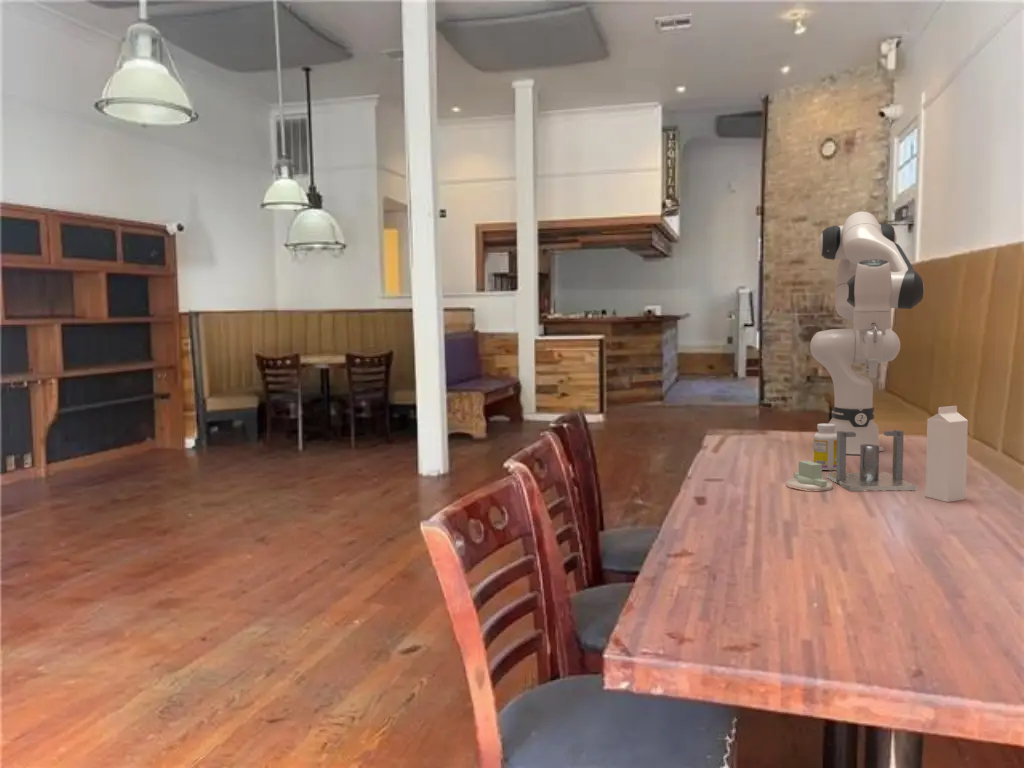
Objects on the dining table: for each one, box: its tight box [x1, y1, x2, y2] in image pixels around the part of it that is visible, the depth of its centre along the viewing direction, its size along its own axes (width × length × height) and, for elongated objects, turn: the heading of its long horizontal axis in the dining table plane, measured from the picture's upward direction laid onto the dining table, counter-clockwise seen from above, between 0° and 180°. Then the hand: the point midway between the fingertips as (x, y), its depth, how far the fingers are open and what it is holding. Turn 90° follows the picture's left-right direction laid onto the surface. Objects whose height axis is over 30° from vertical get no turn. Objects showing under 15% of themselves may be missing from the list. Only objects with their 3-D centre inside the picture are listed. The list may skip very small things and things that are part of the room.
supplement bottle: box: [813, 423, 837, 472], centre depth 212 cm, size 7×7×13 cm
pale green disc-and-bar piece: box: [793, 460, 827, 486], centre depth 192 cm, size 6×11×5 cm, turn 14°
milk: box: [925, 405, 969, 503], centre depth 177 cm, size 6×6×22 cm
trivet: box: [786, 477, 834, 492], centre depth 193 cm, size 11×11×1 cm
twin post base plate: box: [825, 429, 917, 492], centre depth 193 cm, size 16×16×14 cm
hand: (871, 375), depth 196 cm, fingers open, 8 cm apart
